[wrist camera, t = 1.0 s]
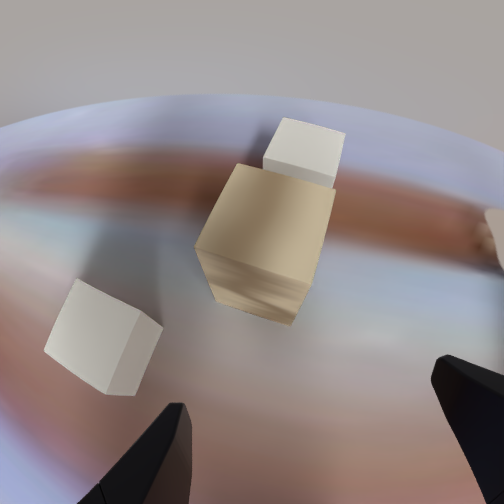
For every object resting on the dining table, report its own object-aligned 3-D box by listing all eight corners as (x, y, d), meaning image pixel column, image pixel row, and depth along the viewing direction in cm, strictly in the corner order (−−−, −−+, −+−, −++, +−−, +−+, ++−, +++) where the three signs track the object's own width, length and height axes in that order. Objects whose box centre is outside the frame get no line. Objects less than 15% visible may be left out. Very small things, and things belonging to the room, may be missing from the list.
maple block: (311, 258, 24) (336, 189, 16) (290, 326, 21) (311, 284, 13) (243, 237, 25) (237, 163, 17) (216, 301, 22) (193, 246, 14)
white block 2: (335, 169, 29) (345, 133, 24) (324, 213, 26) (335, 177, 22) (278, 153, 30) (280, 116, 25) (259, 194, 27) (260, 156, 23)
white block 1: (164, 328, 21) (141, 310, 17) (135, 395, 19) (105, 394, 14) (104, 299, 22) (74, 277, 18) (77, 360, 20) (41, 349, 16)
